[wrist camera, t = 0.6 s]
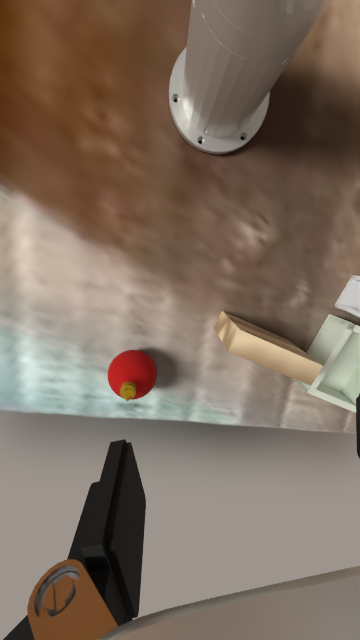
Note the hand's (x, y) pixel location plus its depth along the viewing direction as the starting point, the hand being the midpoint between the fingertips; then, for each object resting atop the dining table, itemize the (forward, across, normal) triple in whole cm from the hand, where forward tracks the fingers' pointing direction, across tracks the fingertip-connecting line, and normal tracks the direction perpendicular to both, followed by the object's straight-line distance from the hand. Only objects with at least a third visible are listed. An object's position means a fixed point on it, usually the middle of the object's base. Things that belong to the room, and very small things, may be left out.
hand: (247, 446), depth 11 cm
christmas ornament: (+31, +10, +8) cm, 34 cm away
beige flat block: (+31, -10, +6) cm, 33 cm away
